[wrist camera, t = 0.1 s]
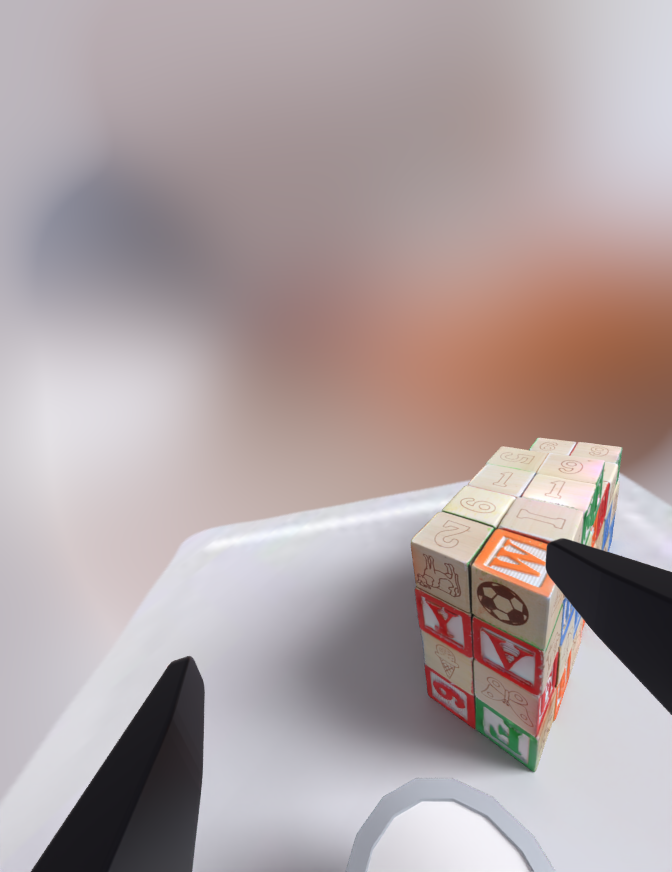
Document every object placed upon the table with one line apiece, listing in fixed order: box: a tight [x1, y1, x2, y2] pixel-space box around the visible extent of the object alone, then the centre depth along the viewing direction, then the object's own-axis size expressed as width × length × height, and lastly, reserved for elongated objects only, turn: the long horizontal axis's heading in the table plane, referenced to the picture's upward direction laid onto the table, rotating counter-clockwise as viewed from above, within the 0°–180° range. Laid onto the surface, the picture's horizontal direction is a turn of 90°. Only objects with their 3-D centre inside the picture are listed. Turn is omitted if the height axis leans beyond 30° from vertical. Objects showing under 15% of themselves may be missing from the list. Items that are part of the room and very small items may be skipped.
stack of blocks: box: [411, 438, 622, 772], centre depth 24 cm, size 21×6×12 cm, turn 135°
